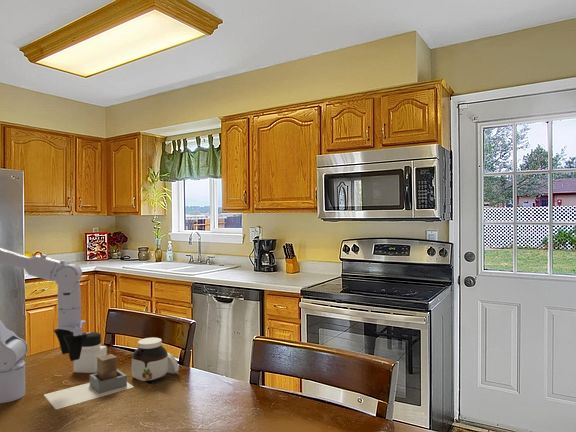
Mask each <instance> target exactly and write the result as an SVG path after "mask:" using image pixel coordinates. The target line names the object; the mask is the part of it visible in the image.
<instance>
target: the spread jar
mask: <svg viewBox="0 0 576 432" xmlns="http://www.w3.org/2000/svg"><path fill="white" fill-rule="evenodd" d="M162 344H163V341H162V338H159V337H145V338H142V339H139V340H138V342H137V349H135V351H134V352H133V353H132V356H131V374H132V377H133V379H134V380H136V381H141V382H142V381H143V382H145V383H147V384H155V383H158V382H160V381H161V380H162V379H164V378H165V377H166V375H167V373H169V374H171V375H174V374H175V373H177V372H178V371H179V364H178V361H177V360H176V358H175V357H174V355H173V354H172V353H170V352H168V351H167V349H166V348H165V347H164V345H162Z"/></svg>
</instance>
